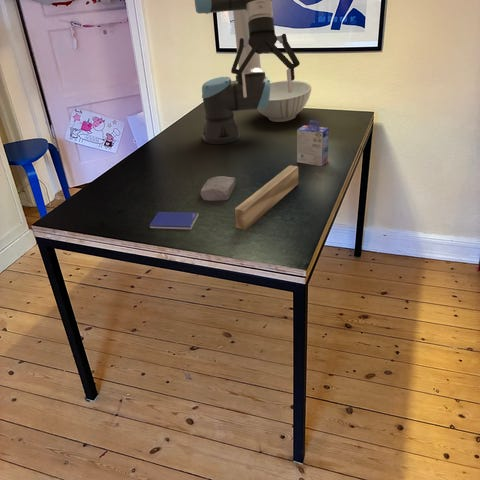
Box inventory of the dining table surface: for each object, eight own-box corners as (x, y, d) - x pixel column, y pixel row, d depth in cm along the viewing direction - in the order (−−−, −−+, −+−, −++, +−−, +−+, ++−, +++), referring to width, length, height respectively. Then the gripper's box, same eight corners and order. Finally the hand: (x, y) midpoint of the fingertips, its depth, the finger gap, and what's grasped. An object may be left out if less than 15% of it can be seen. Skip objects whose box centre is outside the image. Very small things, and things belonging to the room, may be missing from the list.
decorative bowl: (301, 129, 197) (299, 100, 191) (242, 127, 208) (239, 99, 202) (320, 107, 217) (319, 80, 210) (265, 105, 228) (263, 80, 221)
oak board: (236, 227, 134) (234, 208, 131) (290, 182, 156) (289, 165, 153) (245, 229, 132) (243, 210, 129) (298, 183, 154) (298, 166, 151)
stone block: (201, 206, 151) (230, 201, 148) (196, 192, 149) (226, 187, 146) (210, 190, 161) (238, 185, 158) (206, 177, 159) (234, 172, 156)
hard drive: (198, 212, 141) (158, 211, 144) (190, 226, 134) (149, 224, 137) (198, 216, 142) (159, 215, 144) (191, 230, 135) (150, 229, 138)
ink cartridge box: (329, 161, 168) (329, 121, 160) (322, 167, 164) (323, 126, 157) (303, 157, 173) (303, 117, 165) (296, 162, 169) (296, 122, 161)
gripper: (218, 20, 135) (226, 97, 138) (305, 11, 135) (311, 88, 139) (217, 27, 142) (226, 100, 146) (300, 18, 143) (306, 91, 147)
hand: (267, 94), depth 143 cm, fingers open, 13 cm apart
